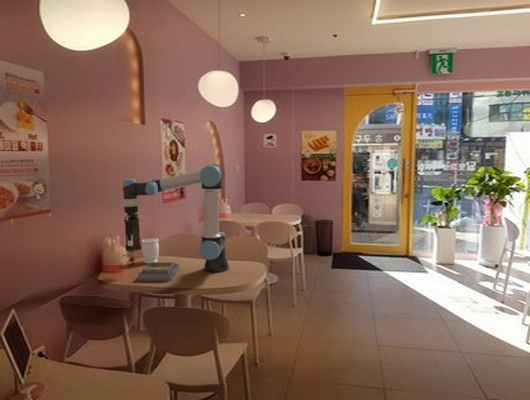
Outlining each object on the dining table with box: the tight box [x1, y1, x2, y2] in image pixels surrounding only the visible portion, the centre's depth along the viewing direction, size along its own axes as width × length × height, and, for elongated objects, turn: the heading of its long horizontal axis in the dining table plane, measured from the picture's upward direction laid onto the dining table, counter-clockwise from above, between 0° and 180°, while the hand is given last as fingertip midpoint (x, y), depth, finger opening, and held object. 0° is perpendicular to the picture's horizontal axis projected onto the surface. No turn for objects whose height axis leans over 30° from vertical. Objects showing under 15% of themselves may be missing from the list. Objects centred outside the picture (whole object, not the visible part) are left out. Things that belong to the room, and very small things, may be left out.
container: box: [123, 218, 142, 252], centre depth 240 cm, size 9×9×18 cm
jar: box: [141, 237, 160, 264], centre depth 269 cm, size 11×10×15 cm
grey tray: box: [137, 261, 180, 282], centre depth 240 cm, size 18×20×6 cm
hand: (133, 243), depth 241 cm, fingers closed on container, 8 cm apart
